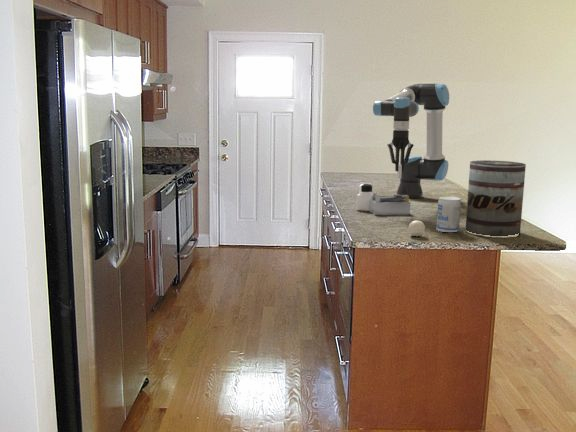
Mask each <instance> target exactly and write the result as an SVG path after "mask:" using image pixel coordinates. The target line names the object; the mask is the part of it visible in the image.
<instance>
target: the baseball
mask: <svg viewBox="0 0 576 432" xmlns="http://www.w3.org/2000/svg"><path fill="white" fill-rule="evenodd" d="M425 232H426V226H425V224H424V222H423V221H421V220H417V219H415V220H412V221H411V222H410V223H409V225H408V233H409V234H410V235H411V236H413V237H415V236H416V237H418V236H419V237H421V236H423V235H424V233H425Z"/></svg>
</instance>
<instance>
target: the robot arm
mask: <svg viewBox="0 0 576 432" xmlns="http://www.w3.org/2000/svg"><path fill="white" fill-rule="evenodd" d="M449 102H450V92H449V88H448V86H447V85H446V84H445V83H415V84H412V85H409V86H406V87H404V88H402V89H401V90H399V92H398V93H397V94H395V95H392V96H391V97H388V98H386V99H384V100H375V101H374V103H373V105H372V113H373V115H374V116H376V117H377V116H379V117H393V124H392V125H393V131H392V140H391V142H389V143H387V148H388V151H389V156H390V160H391V163H392V164H394V170H395V172H396V178H397V179H400V180H399V185H398V187H397V190H396V194H395V195H399V194H400V195H407V196H409V199H420V198H423V197H424V192H423V188H422V185H421V180H426V181H427V180H428V181H442V182H443V180H445V178H446V176H447V174H448V171H449V161H448V160H446V157H445V155H444V154H443V112H444V111H445V110H446V106H448V105H449V104H450V103H449ZM419 106H423V110H424V111H425V112H426V153H425V155H423V157H422V155H421V156H420V155H419V156H418V155H416V156H410V155H411V151H412V149H413V147H414V146H415V145H414V144H413V143H411V142H410V139H409V136H410V135H409V133H410V131H409V129H410V118H412V117H415V116H416V115H417V114H418V113H419V111H420V110H419V109H420V107H419ZM393 147H394V148H395V149H393ZM406 148H407V149H406ZM394 150H395V153H394ZM405 151H406V152H405Z"/></svg>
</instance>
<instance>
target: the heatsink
mask: <svg viewBox="0 0 576 432" xmlns="http://www.w3.org/2000/svg"><path fill="white" fill-rule="evenodd" d="M372 194H373V196H372V200H370V203H369V211H368V212H369V213H371V214H372V215H374V216H384V215H385V216H391V215H392V216H393V215H394V216H397V215H399V216H405V215H407V216H408V215H409V214H410V215H411V202H410V198H409V196H405V199H398V200H386V201H380V197H388V196H389V195H381V194H378V193H377V192H372ZM375 197H376V198H375ZM410 215H409V216H410Z"/></svg>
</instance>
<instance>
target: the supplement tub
mask: <svg viewBox="0 0 576 432" xmlns="http://www.w3.org/2000/svg"><path fill="white" fill-rule="evenodd" d="M461 206H462V199H461V198H460V197H457V196H446V195H445V196H440V197H438V201H437V215H436V224H435V225H436V228H435V229H436V230H435V231H437V230H438V231H437V232H439V231H442V232H457V231H458V232H459V231H460V230H459V229H460V220H461V208H462V207H461ZM442 232H441V233H442ZM458 232H457V233H458Z"/></svg>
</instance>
